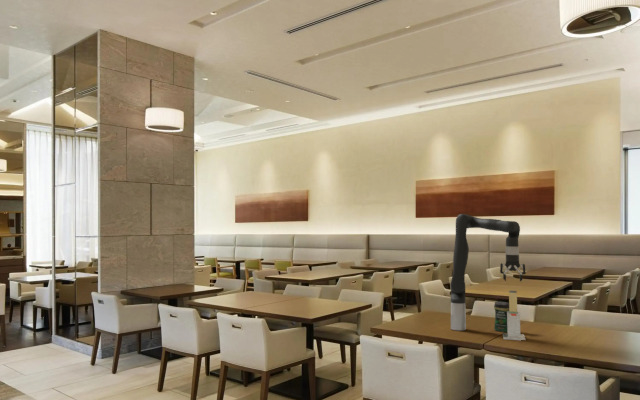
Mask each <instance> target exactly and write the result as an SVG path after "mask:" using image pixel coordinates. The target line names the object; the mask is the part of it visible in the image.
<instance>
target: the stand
mask: <svg viewBox="0 0 640 400" xmlns="http://www.w3.org/2000/svg"><path fill="white" fill-rule="evenodd" d="M502 337H503V340H510V341H521V340H525V341H526V336H525V334H523V333H522V334H521V313H520V311H517V313H510V312H509V311H507V332H502Z"/></svg>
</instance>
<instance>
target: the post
mask: <svg viewBox="0 0 640 400" xmlns="http://www.w3.org/2000/svg"><path fill="white" fill-rule="evenodd" d="M517 293H518V291H517V290H509V291H508V299H509V300H508V301H509V302H508V303H509V312H510V313H517V312H518V294H517Z"/></svg>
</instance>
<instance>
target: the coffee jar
mask: <svg viewBox="0 0 640 400" xmlns="http://www.w3.org/2000/svg"><path fill="white" fill-rule="evenodd" d="M493 306H494V307H493V308H494V309H493V310H494V313H495V314H494V315H495V317H494V327H493V328H494V331H496V332H501V333H507V311H509V302H508V301H507V302H506V301H495V302H494V305H493Z"/></svg>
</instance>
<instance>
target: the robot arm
mask: <svg viewBox="0 0 640 400" xmlns="http://www.w3.org/2000/svg"><path fill="white" fill-rule="evenodd" d="M520 227H521V225H520V223H518V221H512V220H501V219H496V218H482V217H481V218H480V217H476V216H473V215H470V214H466V213H460V214H458V215H457V216H456V218H455V236H454V239H455V240H454V248H453V255H452V256H453V259H452V264H453V265H452V266H453V269H452V270H453V271H452V277H451V280H450V284H449V285H450V286H449V287H450V330H454V331H466V330H467V324H466V322H467V317H466V316H467V315H466V311H467V310H466V282H465V281H466V280H465V278H466V277H465V276H466V275H465V274H466V273H465V272H466V269H467V266H468V265H467V264H468V260H469V251H470V248H469V243H468V240H467V229H484V230H488V231H493V232H495V231H496V232H502V233H503V232H504V233H508V236H507V237H506V238H505V263H502V262H501V263H499V264H500V266H499V267H500V268H499V271H500V272H499V273H500V274H502V276H503V280H504V281H505V282H506V281H507V273H508V271H509V272H513V271H514V272H516V271H517V272H518V273H519V282H522V281H523V275H526V264H524V263H522V264H521V263H520V250H519V238H520V233H521V228H520ZM504 267H505V269H504V271H503V268H504ZM520 267H521V268H522V271H521V270H520V269H519V268H520Z"/></svg>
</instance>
